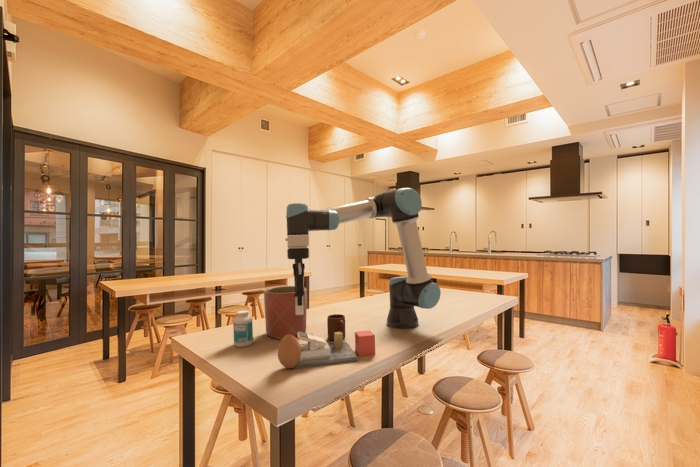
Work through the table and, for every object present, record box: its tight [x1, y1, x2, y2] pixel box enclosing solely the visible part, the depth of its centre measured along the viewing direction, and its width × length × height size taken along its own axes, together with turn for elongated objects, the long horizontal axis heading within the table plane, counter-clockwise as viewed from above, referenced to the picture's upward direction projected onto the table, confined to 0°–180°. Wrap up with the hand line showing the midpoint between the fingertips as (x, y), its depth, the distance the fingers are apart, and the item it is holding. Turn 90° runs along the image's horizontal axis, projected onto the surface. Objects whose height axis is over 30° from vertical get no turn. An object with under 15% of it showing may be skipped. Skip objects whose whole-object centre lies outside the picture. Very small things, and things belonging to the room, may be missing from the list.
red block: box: [354, 329, 376, 357], centre depth 119 cm, size 6×6×7 cm
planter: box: [263, 285, 308, 341], centre depth 144 cm, size 19×19×20 cm
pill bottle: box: [232, 309, 254, 348], centre depth 130 cm, size 8×7×14 cm
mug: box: [326, 313, 346, 342], centre depth 133 cm, size 12×8×9 cm, turn 23°
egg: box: [277, 334, 301, 369], centre depth 106 cm, size 8×8×11 cm
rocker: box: [296, 331, 326, 346], centre depth 113 cm, size 10×6×1 cm, turn 104°
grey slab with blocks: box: [292, 332, 358, 369], centre depth 116 cm, size 22×16×8 cm
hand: (299, 314), depth 112 cm, fingers closed
